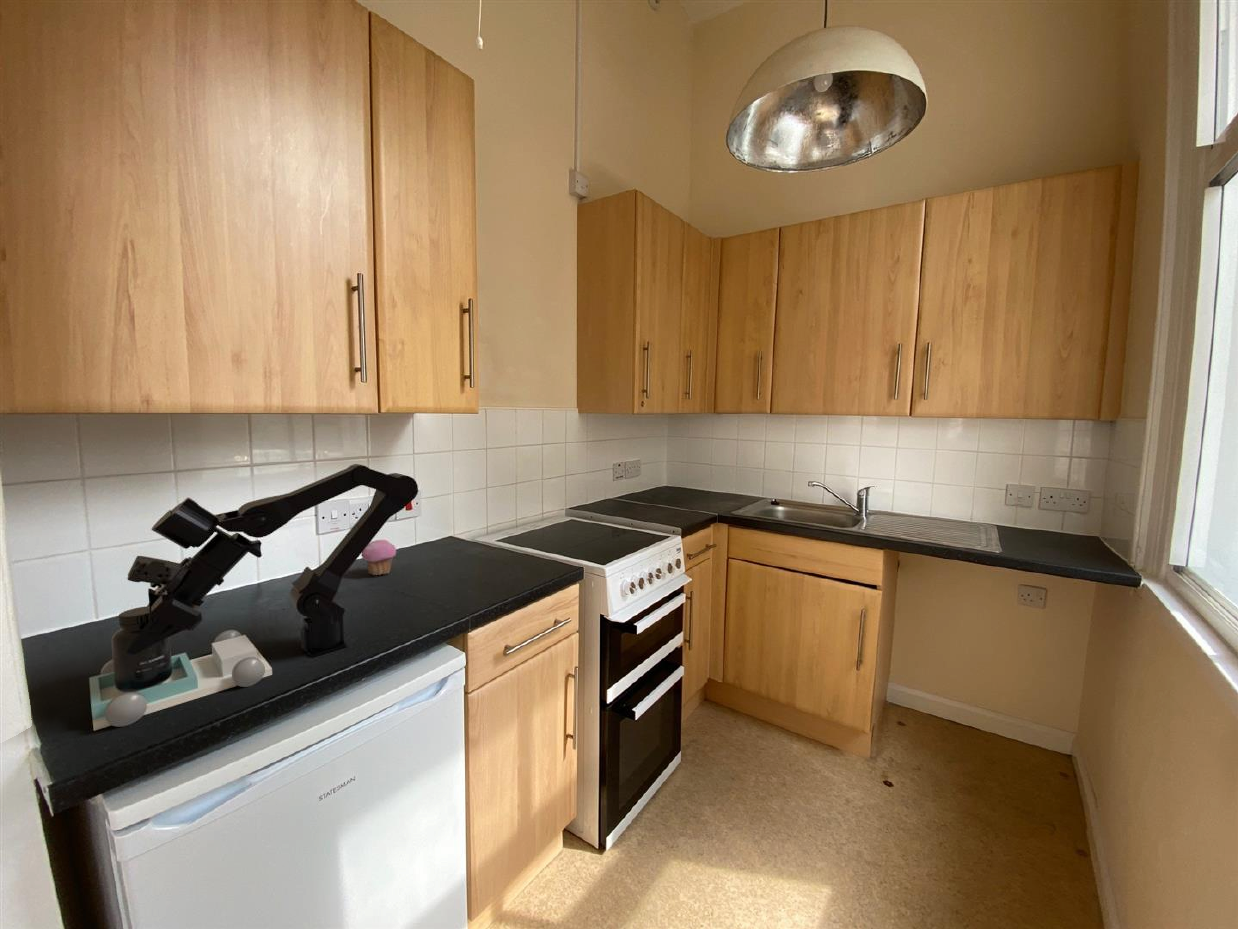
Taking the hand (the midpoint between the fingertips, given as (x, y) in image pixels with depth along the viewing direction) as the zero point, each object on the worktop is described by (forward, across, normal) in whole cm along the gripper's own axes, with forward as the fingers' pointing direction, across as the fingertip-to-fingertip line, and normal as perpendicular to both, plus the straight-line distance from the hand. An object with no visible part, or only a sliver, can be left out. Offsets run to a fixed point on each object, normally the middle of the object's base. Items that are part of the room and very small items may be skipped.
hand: (129, 645), depth 81 cm
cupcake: (-29, -40, +43) cm, 65 cm away
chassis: (+2, 0, +11) cm, 11 cm away
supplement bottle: (+4, 0, +6) cm, 7 cm away
